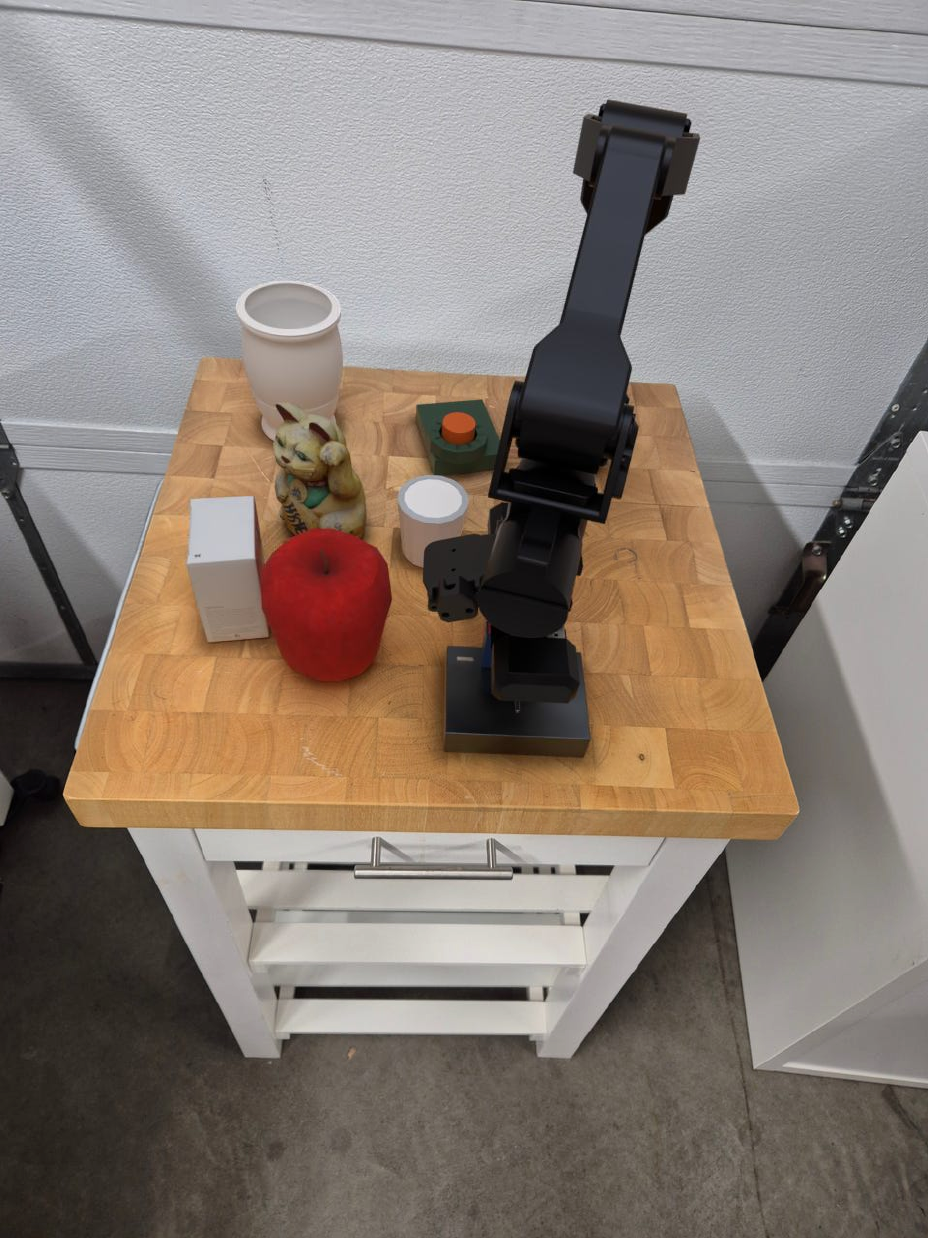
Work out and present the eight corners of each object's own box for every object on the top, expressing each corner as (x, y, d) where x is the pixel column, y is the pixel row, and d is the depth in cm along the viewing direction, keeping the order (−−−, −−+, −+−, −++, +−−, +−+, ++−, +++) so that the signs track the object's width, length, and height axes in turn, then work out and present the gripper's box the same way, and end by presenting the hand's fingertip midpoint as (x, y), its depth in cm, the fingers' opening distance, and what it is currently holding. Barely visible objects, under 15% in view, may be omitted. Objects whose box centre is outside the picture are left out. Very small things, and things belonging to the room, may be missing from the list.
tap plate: (571, 640, 77) (578, 619, 75) (584, 757, 69) (591, 738, 67) (445, 634, 76) (447, 612, 74) (443, 751, 68) (445, 732, 66)
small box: (269, 639, 74) (256, 560, 66) (206, 644, 73) (184, 564, 65) (268, 574, 79) (255, 493, 71) (208, 578, 78) (189, 496, 70)
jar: (363, 421, 95) (361, 302, 84) (306, 468, 89) (296, 346, 78) (292, 387, 98) (281, 268, 87) (233, 429, 92) (212, 307, 81)
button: (438, 426, 90) (439, 413, 89) (469, 423, 91) (471, 410, 90) (445, 447, 88) (446, 434, 87) (477, 444, 89) (479, 431, 87)
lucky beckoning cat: (264, 530, 83) (245, 407, 71) (316, 487, 88) (306, 365, 76) (339, 572, 80) (332, 451, 69) (389, 525, 85) (390, 405, 73)
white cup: (455, 579, 81) (461, 529, 75) (388, 565, 81) (389, 514, 76) (469, 532, 85) (475, 481, 80) (405, 519, 86) (407, 467, 80)
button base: (413, 420, 96) (414, 392, 93) (480, 414, 98) (483, 386, 95) (433, 482, 90) (435, 454, 86) (505, 475, 91) (509, 447, 88)
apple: (272, 708, 70) (254, 606, 59) (271, 616, 76) (254, 509, 66) (395, 697, 71) (398, 596, 61) (384, 608, 78) (385, 503, 67)
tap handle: (548, 656, 72) (557, 622, 68) (549, 671, 71) (559, 637, 67) (480, 652, 71) (486, 618, 68) (481, 667, 70) (486, 633, 67)
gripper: (435, 440, 64) (426, 574, 76) (428, 625, 52) (419, 748, 64) (574, 449, 65) (544, 580, 77) (599, 634, 53) (558, 754, 65)
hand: (515, 658), depth 71 cm, fingers open, 3 cm apart
